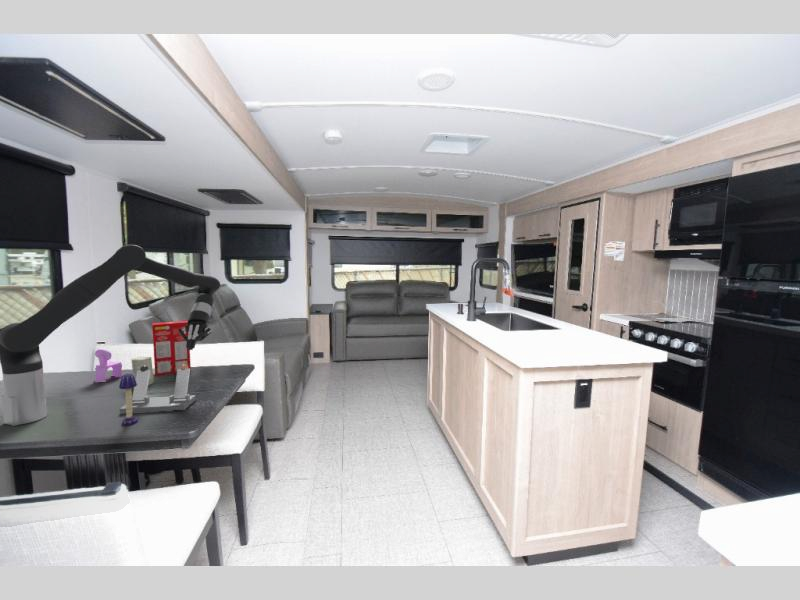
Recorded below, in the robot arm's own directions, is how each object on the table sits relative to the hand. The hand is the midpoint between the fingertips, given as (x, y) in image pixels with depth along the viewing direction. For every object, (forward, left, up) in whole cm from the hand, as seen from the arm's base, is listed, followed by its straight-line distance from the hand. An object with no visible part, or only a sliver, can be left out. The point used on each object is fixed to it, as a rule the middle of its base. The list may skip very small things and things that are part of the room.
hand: (189, 348), depth 138 cm
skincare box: (+2, +32, -20) cm, 37 cm away
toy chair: (+1, +54, -20) cm, 57 cm away
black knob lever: (-16, +7, -17) cm, 24 cm away
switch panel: (-13, +1, -20) cm, 23 cm away
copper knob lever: (-9, -5, -17) cm, 20 cm away
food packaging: (+20, +37, -20) cm, 47 cm away
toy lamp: (-26, -4, -20) cm, 33 cm away
